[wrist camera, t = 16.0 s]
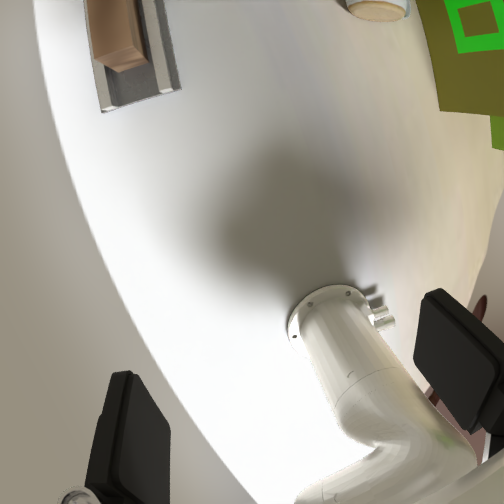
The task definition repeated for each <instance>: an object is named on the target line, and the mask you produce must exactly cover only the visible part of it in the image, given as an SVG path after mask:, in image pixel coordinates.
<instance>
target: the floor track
mask: <svg viewBox="0 0 504 504" xmlns="http://www.w3.org/2000/svg"><path fill="white" fill-rule="evenodd" d="M138 4H139V10H140V16H141V22H142V27H143V33H144V39H145V44H146V49H147V55H148V60H149V63H146V64H143V65H140V66H137V67H133V68H130V69H127V70H124V71H121V72H116V71H115V70H113V69H111V68H109V67H107V66H106V65H104V64H102V63H100V62H98V61H97V60H95V59H94V55H93V49H92V42H91V35H90V27H89V19H88V10H87V1H86V0H84V9H85V18H86V27H87V34H88V41H89V48H90V55H91V61H92V67H93V72H94V78H95V83H96V88H97V94H98V99H99V103H100V108H101V113H107V112H109V111H112V110H115V109H118V108H121V107H124V106H127V105H130V104H133V103H136V102H140V101H143V100H146V99H149V98H153V97H156V96H160V95H163V94H167V93H171V92H174V91H178V90H182V89H181V84H180V79H179V75H178V70H177V65H176V60H175V56H174V51H173V46H172V41H171V36H170V31H169V26H168V21H167V15H166V10H165V5H164V0H138Z"/></svg>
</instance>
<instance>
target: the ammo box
mask: <svg viewBox="0 0 504 504" xmlns="http://www.w3.org/2000/svg"><path fill="white" fill-rule="evenodd" d="M415 1H416V4H417V7H418V10H419V14H420V17H421V20H422V24H423V28H424V31H425V35H426V39H427V43H428V48H429V52H430V57H431V61H432V66H433V71H434V77H435V82H436V88H437V94H438V101H439V108H440V111H446V112H460V113H471V114H481V115H490V123H491V136H492V148H495V149H499V150H503V151H504V0H415Z"/></svg>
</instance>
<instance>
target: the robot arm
mask: <svg viewBox="0 0 504 504" xmlns="http://www.w3.org/2000/svg"><path fill="white" fill-rule="evenodd" d="M388 313H389V311H388V307H387V306H386V305H385V306H382V307H379V308H377V309H374V310H372V309H370V306H369V303H368V301H367V299H366V298H365V297H364V295H363V294H362V293H361V292H360V291H359V290H357V289H355V288H354V287H351V286H347V285H330V286H326V287H323V288H320V289H318V290H316V291H314V292H312V293H311V294H309V295H308V296H306V297H305V298H304V299H303V300H302V301H301V302H300V303H299V304H298V305H297V307H296V308H295V309H294V311H293V313H292V314H291V316H290V319H289V322H288V329H287V330H288V337H289V340H290V343H291V344H292V346H293V348H294V349H295V350H296V351H297V352H298V353H300V354H301V355H303V356H305V357H308V358H309V359H310V361H311V364H312V366H313V368H314V370H315V373H316V375H317V377H318V380H319V382H320V384H321V387H322V389H323V391H324V394H325V396H326V398H327V400H328V403H329V405H330V407H331V410H332V412H333V414H334V417H335V419H336V421H337V423H338V426H339V427H340V429H341V430H342V432H343V433H344V434H345V435H346V436H348V437H349V438H350V439H352V440H354V441H355V442H358V443H360V444H363V445H366V446H369V447H373V448H376V449H375V450H374V451H373V452H371V453H370V454H368V455H367V456H365V457H363V459H361V460H359V461H357V462H356V463H354V464H352V465H350V466H348V467H346V468H344V469H342V470H340V471H338V472H336V473H334V474H332V475H330V476H328V477H326V478H324V479H322V480H319V481H317V482H315V483H313V484H312V485H310V486H308V487H307V488H305V489H304V490H303V491H302V492H301V493H300V494H299V495H298V496H297V498H296V500H295V502H294V504H504V343H503V342H502V341H501V340H500V339H499V338H498V337H497V336H496V335H495V334H494V333H493V332H492V331H490V330H489V329H488V328H487V327H486V326H485V325H484V324H483V323H482V322H481V321H479V320H478V319H477V318H476V317H475V316H474V315H473V314H472V313H470V312H469V311H468V310H467V309H466V308H465V307H464V306H462V305H461V304H460V303H459V302H458V301H457V300H455V299H454V298H453V297H452V296H451V295H450V294H448V293H447V292H446V291H445V290H444V289H442V288H438V289H436V290H433V291H430V292H428V293H426V294H425V296H424V299H422V301H421V307H420V315H419V323H418V330H417V337H416V343H415V349H414V355H413V360H414V363H415V365H416V367H417V368H418V369H419V371H420V372H421V373H422V375H423V376H424V377H425V379H426V380H427V381H428V383H429V384H430V385H431V387H432V388H433V389H434V391H435V392H436V393H437V395H438V396H439V397H440V399H441V400H442V401H443V403H444V404H445V405H446V407H447V408H448V410H449V411H450V412H451V414H452V415H453V417H454V418H455V420H456V421H457V422H458V424H459V425H460V426H461V428H462V429H463V430H467V431H468V432H469V433H470V435H472V434H473V433H475V432H476V431H478V430H479V429H481V428H482V427H483V428H484V429H485V430H486V440H485V447H484V455H483V461H482V464H481V465H480V466H478V467H477V459H476V455H475V452H474V450H473V449H472V447H471V445H470V444H469V443H468V441H467V440H466V439H465V438H464V436H463V435H462V434H460V432H458V430H457V429H455V427H453V426H452V424H451V423H449V421H447V420H446V419H445V418H444V417H443V416H442V415H441V414H440V413H439V411H438V410H437V409H436V408H435V407H434V406H433V405H432V403H431V402H430V401H429V400H428V399H427V397H426V396H425V395H424V393H423V392H422V391H421V389H420V388H419V387H418V386H417V384H416V383H415V381H414V380H413V379H412V377H411V376H410V374H409V373H408V372H407V370H406V369H405V368H404V366H403V365H402V364H401V362H400V361H399V359H398V358H397V357H396V355H395V354H394V353H393V351H392V350H391V349H390V347H389V346H388V345H387V343H386V342H385V341H384V339H383V338H382V337H381V335H380V334H379V333H378V332H379V331H382V330H387V329H390V328H393V327H395V319H394V317H393V316H392V315H389V316H386V317H383V318H381V319H379V320H377V321H374V320H375V318H377V317H381V316H384V315H387V314H388ZM170 436H171V430H170V426H169V423H168V422H167V420H166V419H165V417H164V416H163V414H162V413H161V411H160V409H159V408H158V407H157V405H156V403H155V402H154V400H153V399H152V397H151V396H150V394H149V392H148V390H147V389H146V387H145V386H144V384H143V382H142V380H141V379H140V377H139V376H138V375H137V374H133V373H132V372H131V371H130V370H129V371H121V372H115V373H113V374H112V376H111V379H110V383H109V387H108V391H107V395H106V398H105V403H104V406H103V411H102V414H101V415H100V416H99V419H98V422H97V427H96V431H95V435H94V440H93V445H92V449H91V454H90V459H89V464H88V469H87V475H86V480H85V486H84V487H82V486H74V487H71V488H68V489H66V490H65V491H64V492H63V493H62V494H61V496H60V498H59V499H58V502H57V504H170V438H171V437H170Z"/></svg>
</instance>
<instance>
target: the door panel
mask: <svg viewBox="0 0 504 504" xmlns="http://www.w3.org/2000/svg"><path fill="white" fill-rule="evenodd" d="M86 1H87V10H88V19H89V27H90V35H91V42H92V49H93V55H94V59H95V60H97V61H98V62H100V63H102V64H104V65H106V66H107V67H109V68H111V69H113V70H115V71H116V72H121V71H124V70H127V69H130V68H133V67H137V66H140V65H143V64H146V63H149V60H148V55H147V49H146V44H145V39H144V33H143V27H142V22H141V16H140V10H139V4H138V0H86Z"/></svg>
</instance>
